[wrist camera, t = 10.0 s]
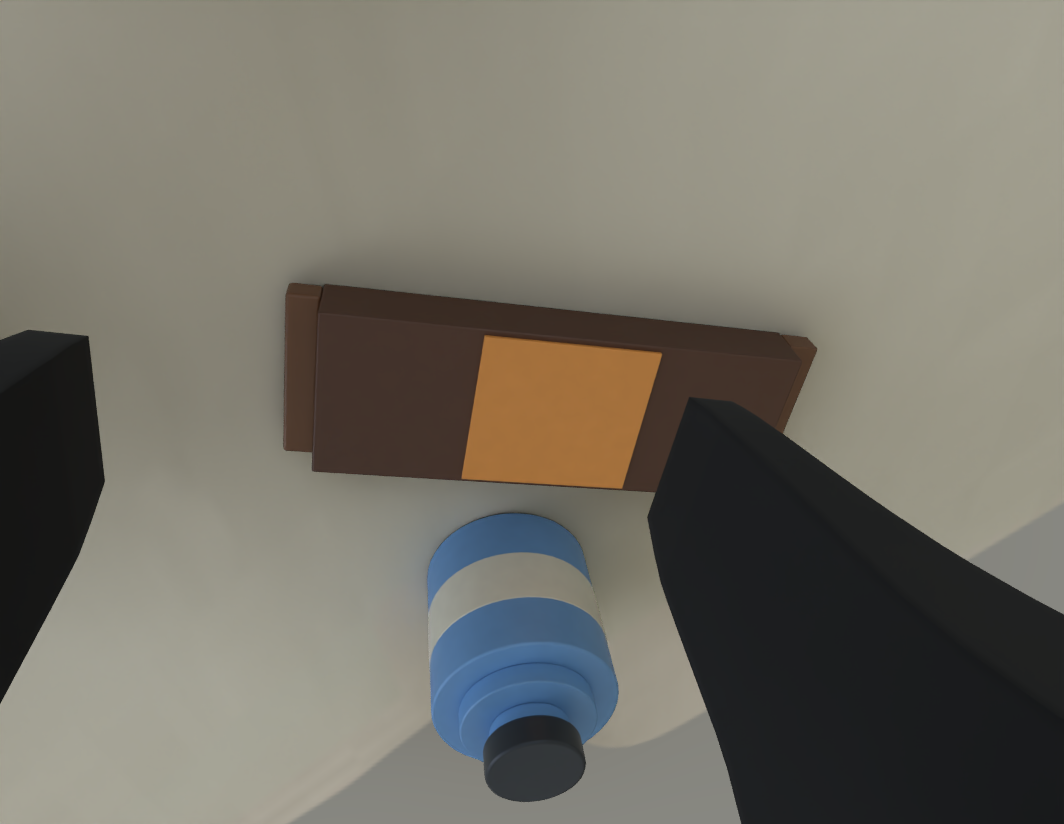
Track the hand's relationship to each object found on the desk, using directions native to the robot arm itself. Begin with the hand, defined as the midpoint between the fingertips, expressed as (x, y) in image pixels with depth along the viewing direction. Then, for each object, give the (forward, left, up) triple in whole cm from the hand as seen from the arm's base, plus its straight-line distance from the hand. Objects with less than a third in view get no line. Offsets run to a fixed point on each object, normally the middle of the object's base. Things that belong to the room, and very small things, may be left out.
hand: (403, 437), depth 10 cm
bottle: (-6, -11, -10) cm, 16 cm away
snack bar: (-1, -6, -10) cm, 12 cm away
